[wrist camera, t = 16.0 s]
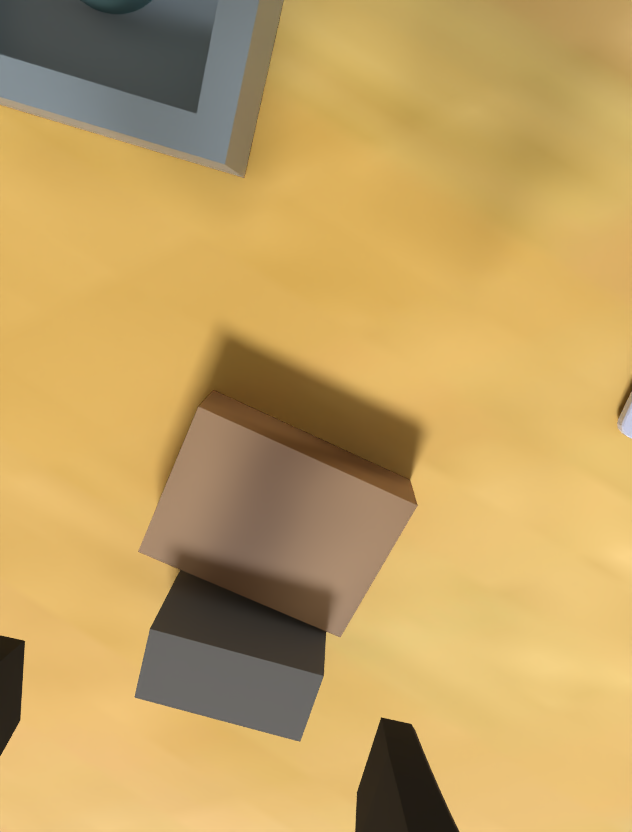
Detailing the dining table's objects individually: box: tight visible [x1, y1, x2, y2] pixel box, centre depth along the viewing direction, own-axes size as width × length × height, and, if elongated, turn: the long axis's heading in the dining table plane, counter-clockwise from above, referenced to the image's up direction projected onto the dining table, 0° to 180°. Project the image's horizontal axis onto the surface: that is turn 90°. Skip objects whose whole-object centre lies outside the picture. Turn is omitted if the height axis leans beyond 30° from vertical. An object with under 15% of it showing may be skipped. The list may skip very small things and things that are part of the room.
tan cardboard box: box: [138, 390, 417, 637], centre depth 20 cm, size 8×6×2 cm
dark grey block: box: [135, 570, 326, 741], centre depth 20 cm, size 6×3×4 cm, turn 74°
